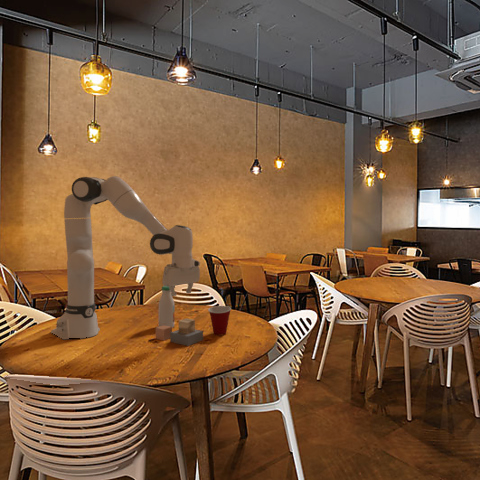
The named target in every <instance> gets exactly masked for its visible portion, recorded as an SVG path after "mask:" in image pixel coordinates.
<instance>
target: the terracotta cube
mask: <svg viewBox="0 0 480 480" xmlns="http://www.w3.org/2000/svg"><path fill="white" fill-rule="evenodd" d="M171 332H173V328H172V327H170V326H165V325H163V326H159V325H158V326H156V327H155V339H156V340H161V341H166V340H170V333H171Z"/></svg>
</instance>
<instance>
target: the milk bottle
mask: <svg viewBox="0 0 480 480" xmlns="http://www.w3.org/2000/svg"><path fill="white" fill-rule="evenodd" d="M175 315H176V314H175V301H174V298H173V296H171V291H170V289H169V287H167V286H164V285H163V286H161V296H160V299H159V301H158V327H159V326H163V325H165V326H170V327H172V329H173V328H174V327H175Z"/></svg>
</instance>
